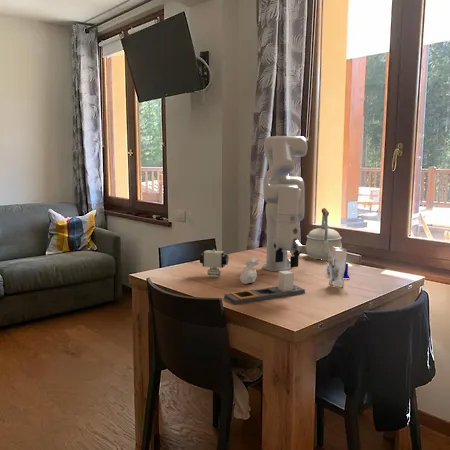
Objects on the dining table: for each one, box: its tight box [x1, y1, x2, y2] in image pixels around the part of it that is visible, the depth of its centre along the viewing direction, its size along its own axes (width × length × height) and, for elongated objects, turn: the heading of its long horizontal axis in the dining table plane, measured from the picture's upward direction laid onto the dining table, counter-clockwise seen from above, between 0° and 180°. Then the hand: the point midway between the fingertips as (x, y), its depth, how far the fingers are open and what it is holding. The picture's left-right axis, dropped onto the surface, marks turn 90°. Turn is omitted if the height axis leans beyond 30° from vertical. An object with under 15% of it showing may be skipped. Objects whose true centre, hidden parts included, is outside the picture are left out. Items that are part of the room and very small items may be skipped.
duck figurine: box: [239, 256, 259, 285], centre depth 185 cm, size 12×8×11 cm
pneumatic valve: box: [198, 248, 229, 278], centre depth 193 cm, size 6×12×12 cm, turn 77°
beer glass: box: [328, 247, 348, 288], centre depth 180 cm, size 7×7×15 cm
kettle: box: [305, 207, 343, 261], centre depth 229 cm, size 25×18×25 cm
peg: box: [277, 270, 294, 292], centre depth 170 cm, size 4×4×8 cm
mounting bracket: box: [326, 263, 350, 279], centre depth 199 cm, size 18×7×6 cm, turn 173°
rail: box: [224, 284, 306, 305], centre depth 167 cm, size 30×8×2 cm, turn 117°
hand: (286, 264), depth 169 cm, fingers open, 9 cm apart
